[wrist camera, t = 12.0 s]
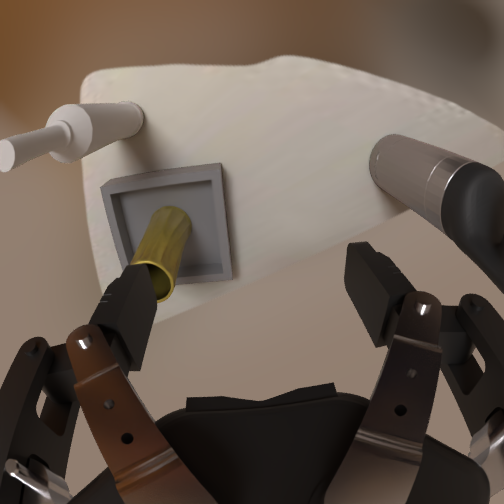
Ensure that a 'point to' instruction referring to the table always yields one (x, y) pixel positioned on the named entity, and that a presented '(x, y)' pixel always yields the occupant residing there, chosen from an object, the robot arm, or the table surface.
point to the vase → (164, 248)
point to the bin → (184, 197)
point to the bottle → (73, 133)
